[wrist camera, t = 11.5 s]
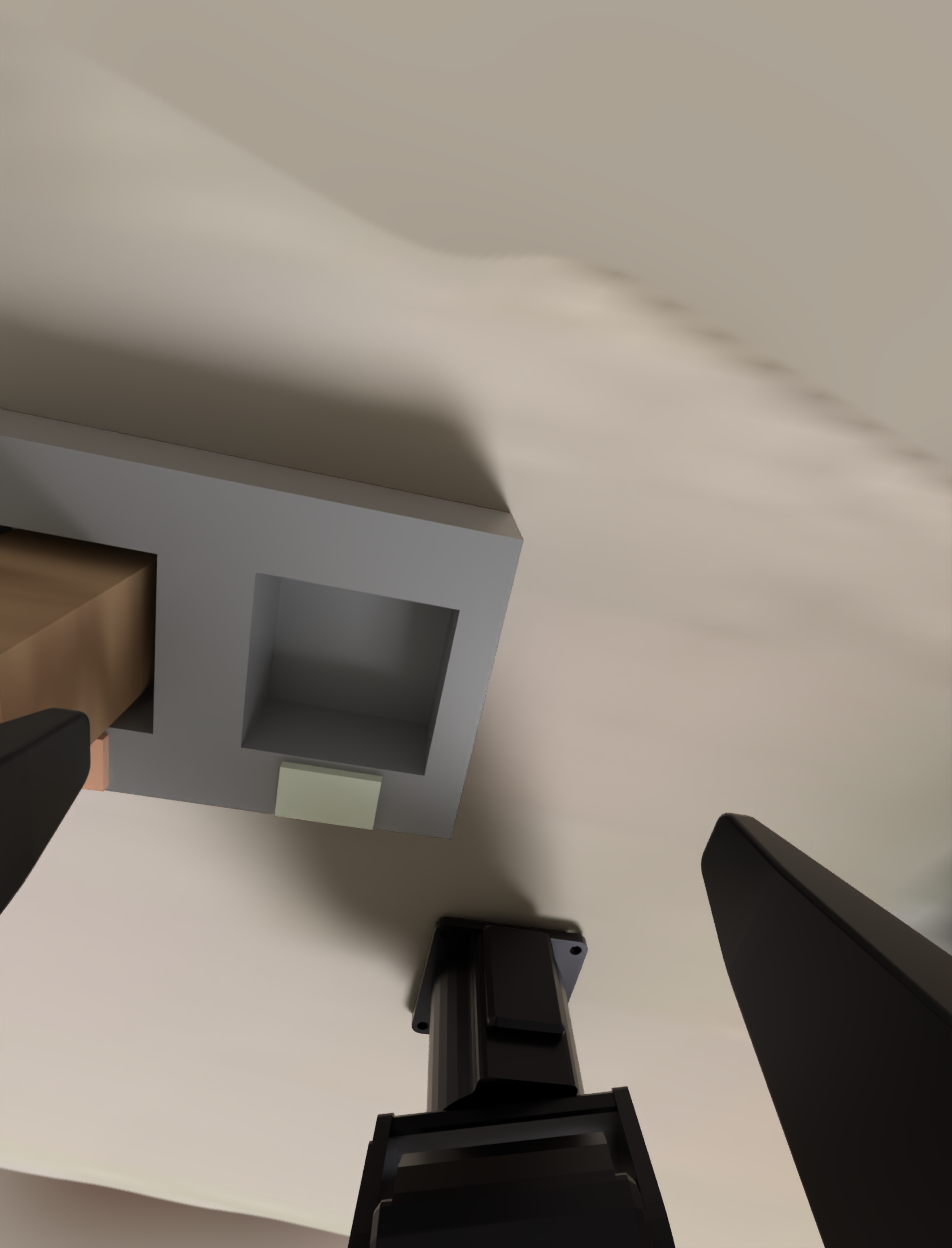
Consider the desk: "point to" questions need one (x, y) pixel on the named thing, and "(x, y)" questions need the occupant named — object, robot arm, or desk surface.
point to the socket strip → (282, 625)
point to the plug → (74, 626)
